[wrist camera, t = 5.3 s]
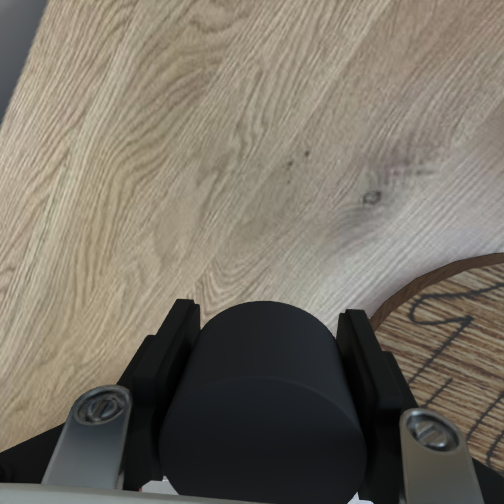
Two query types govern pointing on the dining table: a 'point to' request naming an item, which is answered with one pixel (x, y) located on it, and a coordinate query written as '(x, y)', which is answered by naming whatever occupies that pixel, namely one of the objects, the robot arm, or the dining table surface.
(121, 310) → the dining table surface
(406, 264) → the dining table surface
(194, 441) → the bung
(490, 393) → the trivet
